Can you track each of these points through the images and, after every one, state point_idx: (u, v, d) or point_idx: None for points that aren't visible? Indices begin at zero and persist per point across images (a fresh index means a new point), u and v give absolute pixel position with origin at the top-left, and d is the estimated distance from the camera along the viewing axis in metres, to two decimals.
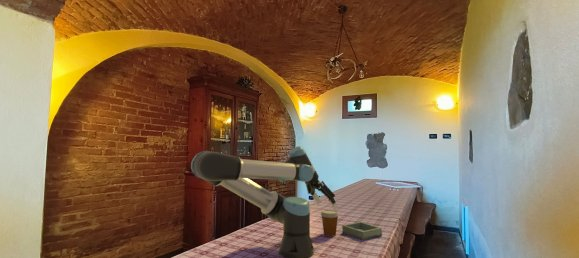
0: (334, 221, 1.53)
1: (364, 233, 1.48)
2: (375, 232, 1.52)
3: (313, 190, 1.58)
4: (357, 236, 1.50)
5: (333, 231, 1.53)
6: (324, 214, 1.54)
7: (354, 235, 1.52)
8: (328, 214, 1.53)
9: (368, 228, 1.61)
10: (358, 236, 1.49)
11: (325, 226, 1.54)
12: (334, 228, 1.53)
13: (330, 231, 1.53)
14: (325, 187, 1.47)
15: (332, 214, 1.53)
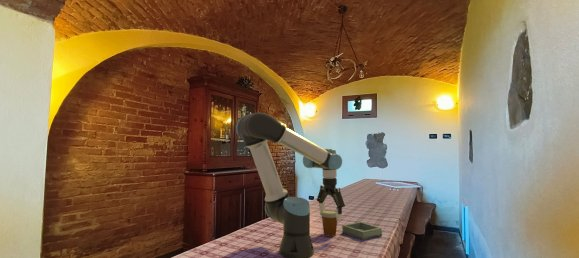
0: (334, 221, 1.53)
1: (364, 233, 1.48)
2: (375, 232, 1.52)
3: (324, 198, 1.61)
4: (357, 236, 1.50)
5: (333, 231, 1.53)
6: (324, 214, 1.54)
7: (354, 235, 1.52)
8: (328, 214, 1.53)
9: (368, 228, 1.61)
10: (358, 236, 1.49)
11: (325, 226, 1.54)
12: (334, 228, 1.53)
13: (330, 231, 1.53)
14: (339, 194, 1.51)
15: (332, 214, 1.53)
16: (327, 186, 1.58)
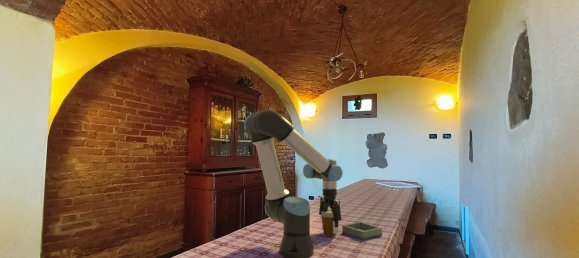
0: None
1: (364, 233, 1.48)
2: (375, 232, 1.52)
3: (325, 210, 1.60)
4: (357, 236, 1.50)
5: None
6: (324, 214, 1.54)
7: (354, 235, 1.52)
8: (328, 214, 1.53)
9: (368, 228, 1.61)
10: (358, 236, 1.49)
11: (325, 226, 1.54)
12: None
13: (330, 231, 1.53)
14: (338, 207, 1.51)
15: (332, 214, 1.53)
16: (327, 197, 1.57)
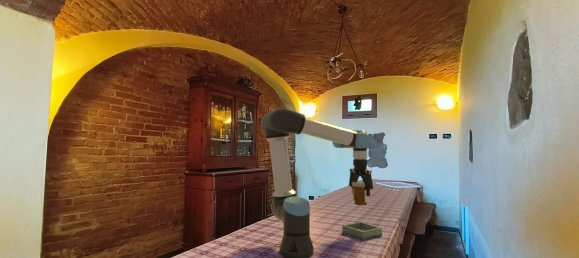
0: None
1: (364, 233, 1.48)
2: (375, 232, 1.52)
3: (355, 181, 1.61)
4: (357, 236, 1.50)
5: None
6: (356, 184, 1.55)
7: (354, 235, 1.52)
8: (360, 183, 1.54)
9: (368, 228, 1.61)
10: (358, 236, 1.49)
11: (357, 195, 1.56)
12: None
13: (362, 201, 1.55)
14: (370, 176, 1.53)
15: (364, 183, 1.54)
16: (357, 167, 1.59)
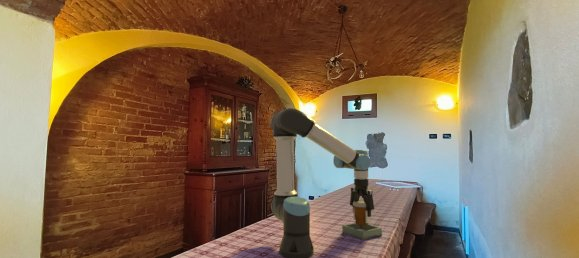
0: None
1: (364, 233, 1.48)
2: (375, 232, 1.52)
3: (356, 200, 1.61)
4: (357, 236, 1.50)
5: None
6: (357, 204, 1.55)
7: (354, 235, 1.52)
8: (361, 204, 1.54)
9: (368, 228, 1.61)
10: (358, 236, 1.49)
11: (358, 216, 1.55)
12: None
13: (363, 221, 1.54)
14: (371, 197, 1.53)
15: (365, 204, 1.54)
16: (358, 187, 1.58)
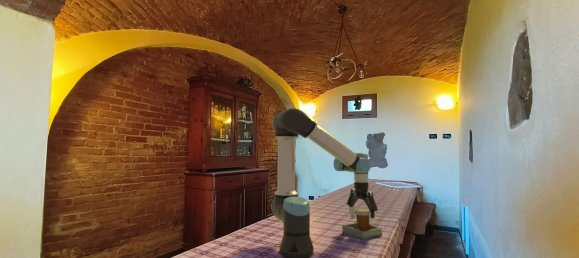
0: None
1: (364, 233, 1.48)
2: (375, 232, 1.52)
3: (354, 201, 1.62)
4: (357, 236, 1.50)
5: (368, 229, 1.52)
6: (359, 212, 1.53)
7: (354, 235, 1.52)
8: (363, 212, 1.52)
9: None
10: (358, 236, 1.49)
11: (360, 224, 1.53)
12: (369, 226, 1.53)
13: None
14: (372, 198, 1.52)
15: (367, 212, 1.52)
16: (359, 190, 1.58)
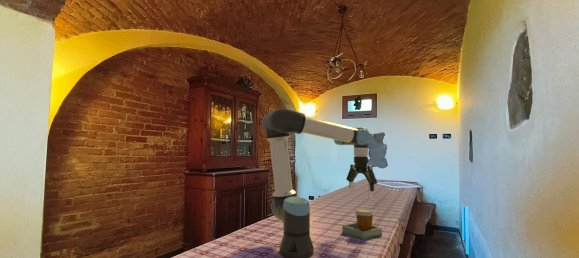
0: (370, 220, 1.52)
1: (364, 233, 1.48)
2: (375, 232, 1.52)
3: (354, 176, 1.63)
4: (357, 236, 1.50)
5: (369, 229, 1.52)
6: (359, 212, 1.53)
7: (354, 235, 1.52)
8: (363, 212, 1.52)
9: None
10: (358, 236, 1.49)
11: (360, 225, 1.53)
12: (370, 226, 1.53)
13: None
14: (371, 171, 1.53)
15: (367, 212, 1.52)
16: (358, 164, 1.59)
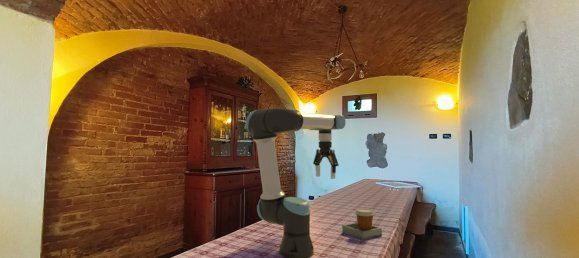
0: (370, 220, 1.52)
1: (364, 233, 1.48)
2: (375, 232, 1.52)
3: (319, 160, 1.75)
4: (357, 236, 1.50)
5: None
6: (359, 213, 1.53)
7: (354, 235, 1.52)
8: (364, 213, 1.52)
9: None
10: (358, 236, 1.49)
11: (360, 225, 1.53)
12: (370, 227, 1.52)
13: None
14: (333, 155, 1.65)
15: (368, 213, 1.52)
16: (323, 149, 1.71)
